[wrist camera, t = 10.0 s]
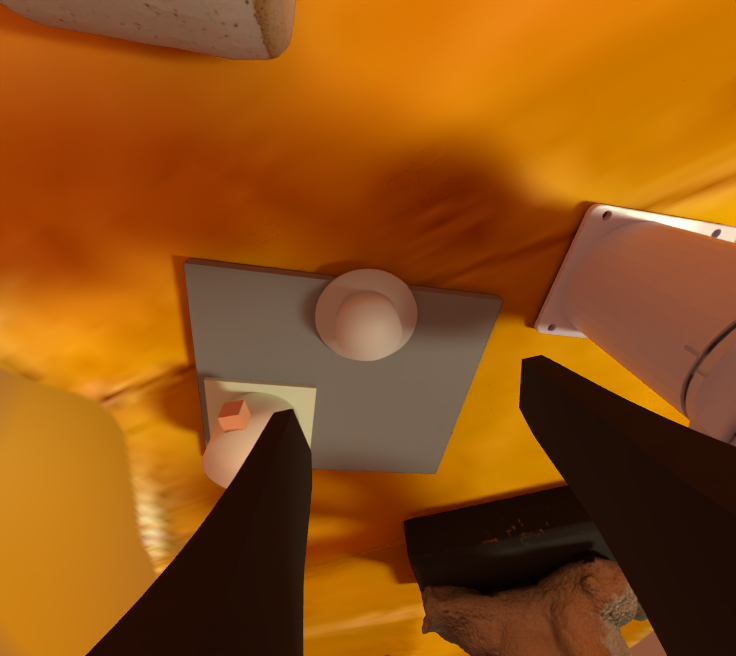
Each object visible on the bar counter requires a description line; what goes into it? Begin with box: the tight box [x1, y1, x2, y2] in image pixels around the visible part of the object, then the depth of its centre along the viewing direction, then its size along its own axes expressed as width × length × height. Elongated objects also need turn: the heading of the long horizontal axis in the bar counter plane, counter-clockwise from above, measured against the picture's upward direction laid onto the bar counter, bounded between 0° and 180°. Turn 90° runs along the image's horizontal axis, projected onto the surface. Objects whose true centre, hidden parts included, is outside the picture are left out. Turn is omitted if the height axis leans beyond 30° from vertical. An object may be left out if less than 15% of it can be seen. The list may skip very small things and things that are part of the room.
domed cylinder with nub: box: [202, 392, 299, 489], centre depth 21 cm, size 6×5×4 cm
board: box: [183, 258, 503, 474], centre depth 22 cm, size 18×17×3 cm
